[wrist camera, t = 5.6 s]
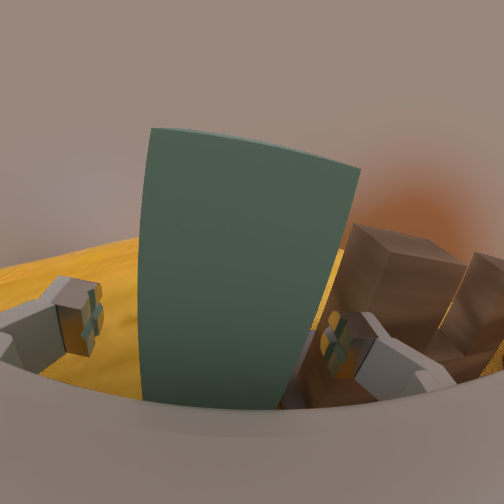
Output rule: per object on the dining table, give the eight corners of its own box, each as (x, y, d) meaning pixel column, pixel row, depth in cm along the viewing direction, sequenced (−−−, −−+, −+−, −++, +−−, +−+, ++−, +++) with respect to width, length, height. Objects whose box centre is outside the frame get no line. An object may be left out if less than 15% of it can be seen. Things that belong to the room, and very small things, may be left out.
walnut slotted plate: (502, 426, 11) (578, 313, 8) (308, 504, 8) (458, 333, 5) (429, 334, 22) (473, 238, 19) (263, 334, 19) (301, 193, 16)
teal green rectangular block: (236, 489, 9) (361, 168, 4) (156, 484, 8) (151, 128, 4) (224, 387, 14) (278, 144, 10) (164, 382, 14) (187, 128, 9)
